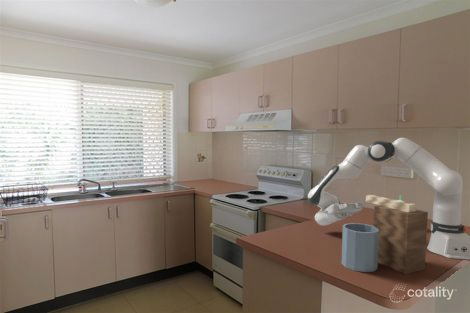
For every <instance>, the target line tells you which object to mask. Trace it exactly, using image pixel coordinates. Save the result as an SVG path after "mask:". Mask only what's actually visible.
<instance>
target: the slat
mask: <svg viewBox="0 0 470 313" xmlns="http://www.w3.org/2000/svg"><path fill="white" fill-rule="evenodd" d="M398 200H399V199H392V198H388V197H384V196H378V195H374V194H367V195H365V203H369V204H374V205H376V206H385V207H389V208H393V209H397V210H401V211H405V212H416V208H417V204H416V203H411V202H407V201H404V200H402V201H398ZM403 201H404V202H403Z"/></svg>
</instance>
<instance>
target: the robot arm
mask: <svg viewBox="0 0 470 313" xmlns="http://www.w3.org/2000/svg"><path fill="white" fill-rule="evenodd" d="M393 158H396V159H398V160H399V161H401V162H402V163H403V164H405V165H406V166H407V167H408V168H409V169H411V170H412V171H413V172H415V173H416V174H417V175H418V176H419V177H420V178H421V179H423V180H424V181H425V182H426V183H427V184H428V185H429V186H431V187H432V188H433V189H434V196H433V203H432V204H433V208H432V220H431V222H430V238H429V240H428V241H429V242H428V244H427V246H426V250H428V251H429V252H432V253H434V254H437V255H439V256H443V257H446V258H448V259H457V260H468V261H469V260H470V235H469V234H467V232H469V231H470V229H469V227H468V226H465V225H463V224H462V223H461V220H462V206H463V205H462V203H463V202H462V201H463V188H464V187H463V186H464V184H463V183H464V180H463V177H462V175H461V174H460V173H459V172H457V171H456V170H453V169H450V168H449V167H448V166H446V164H444V163H443V162H441V161H440V160H439V159H438V158H437V157H435V156H434V155H433V154H431V153H430V152H428V151H427V150H426V149H425V148H423V147H422V146H420V145H419V144H417V143H416V142H414V141H412V140H411V139H408V138H406V137H399V138H397V139H396V140H394V141H393V142H388V141H383V140H376V141H373V142H372V143H371V144H369V146H365V145H363V144H357V145H355V146H354V147H353V148H352V149H351V150H350V151H349V153H348V154H347V155H346V156H345V158H344V159H343V160H342V162H340V163H339V164H338V165H334V166H331V168H330V169H329V170H328V171H327V172H326V173H325V175H324V176H323V177H322V178H321V179H320V180H319V181H318V182H317V184H315V185H314V186H313V187H312V188H311V189H310V190H309V191H308V193H307V200H308V203H309V204H310V205H313V206H315V207H316V206H317V207H318V208H320V209H319V210H318V212H316V213H315V216H314V220H315V222H316V223H317V224H318V225H320V226H328V225H331V224H333V223H335V222H339V221H341V220H344V219H346V218H349V217H353V215H354V214H357V213H359V212H360V211H363V209H364V207H363V206H364V203H363V202H362V201H359V202H352V203H351V202H350V203H346V202H345V203H341V201H340V198H339V197H338V196H337V195H334V194H332V193H329V192H327V191H325V190H326V189H327V188H328V186H330V185H331V183H332V182H333V181H335V180H340V179H343V180H345V179H347V180H353V179H356V178H358V177H359V176H360V175H361V174H362V172H363V171H364V169H365V168H366V166H367V165H368V164H369V162H371V161H373V162H376V163H381V164H382V163H387V162H389V161H391V160H392V159H393Z"/></svg>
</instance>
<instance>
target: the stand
mask: <svg viewBox="0 0 470 313" xmlns="http://www.w3.org/2000/svg"><path fill="white" fill-rule="evenodd" d="M373 208H374V209H373V210H374V211H373V226H374V227H376V228H378V230H379V242H378V263H379V264H381V265H384V266H385V267H388V268H390V269H392V270H395V271H397V272H400V273H402V274H404V275H407V274H412V273H416V272H419V271H424V270H425V269H426V256H427V255H426V252H427V239H428V238H427V236H428V235H427V233H428V216H429V212H428V211H425V210H421V209H416V212H405V211H401V210H397V209H393V208H389V207H385V206H381V205H374V207H373Z"/></svg>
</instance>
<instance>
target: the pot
mask: <svg viewBox="0 0 470 313" xmlns="http://www.w3.org/2000/svg"><path fill="white" fill-rule="evenodd" d="M341 234H342V236H341V237H342V238H341V239H342V240H341V241H342V242H341V265H342V266H344V267H345V268H346V269H349V270H352V271H355V272H361V273H371V272H375V271H377V270H378V266H379V265H378V263H379V262H378V242H379V230H378V228H376V227H374V225H370V224H366V223H359V222H357V223H356V222H350V223H344V224H342V233H341Z"/></svg>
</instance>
